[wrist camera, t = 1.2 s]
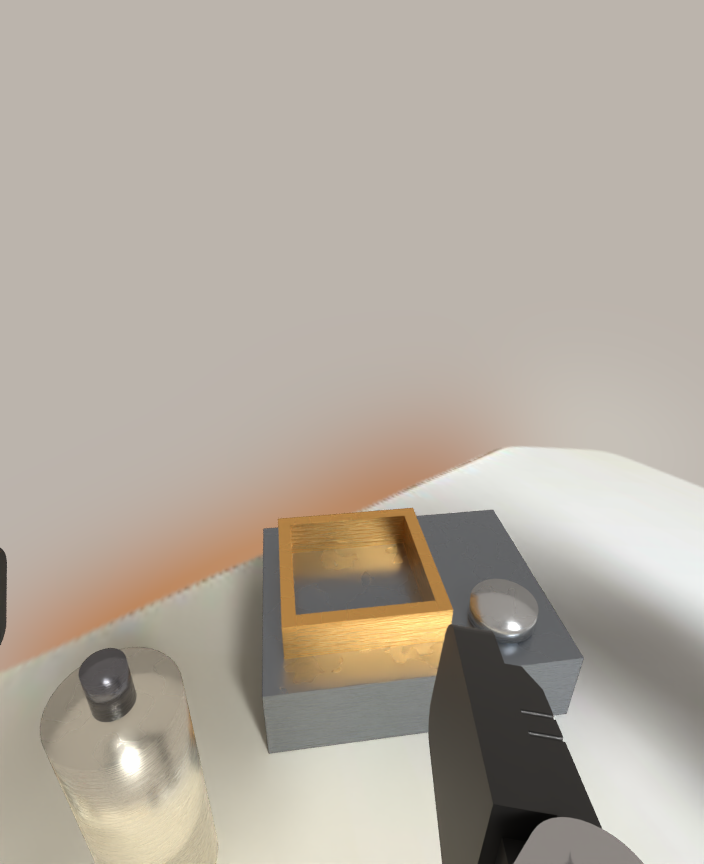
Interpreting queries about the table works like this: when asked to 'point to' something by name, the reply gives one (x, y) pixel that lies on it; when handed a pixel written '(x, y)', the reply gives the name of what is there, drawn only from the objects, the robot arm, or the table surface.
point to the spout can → (130, 760)
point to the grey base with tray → (392, 620)
